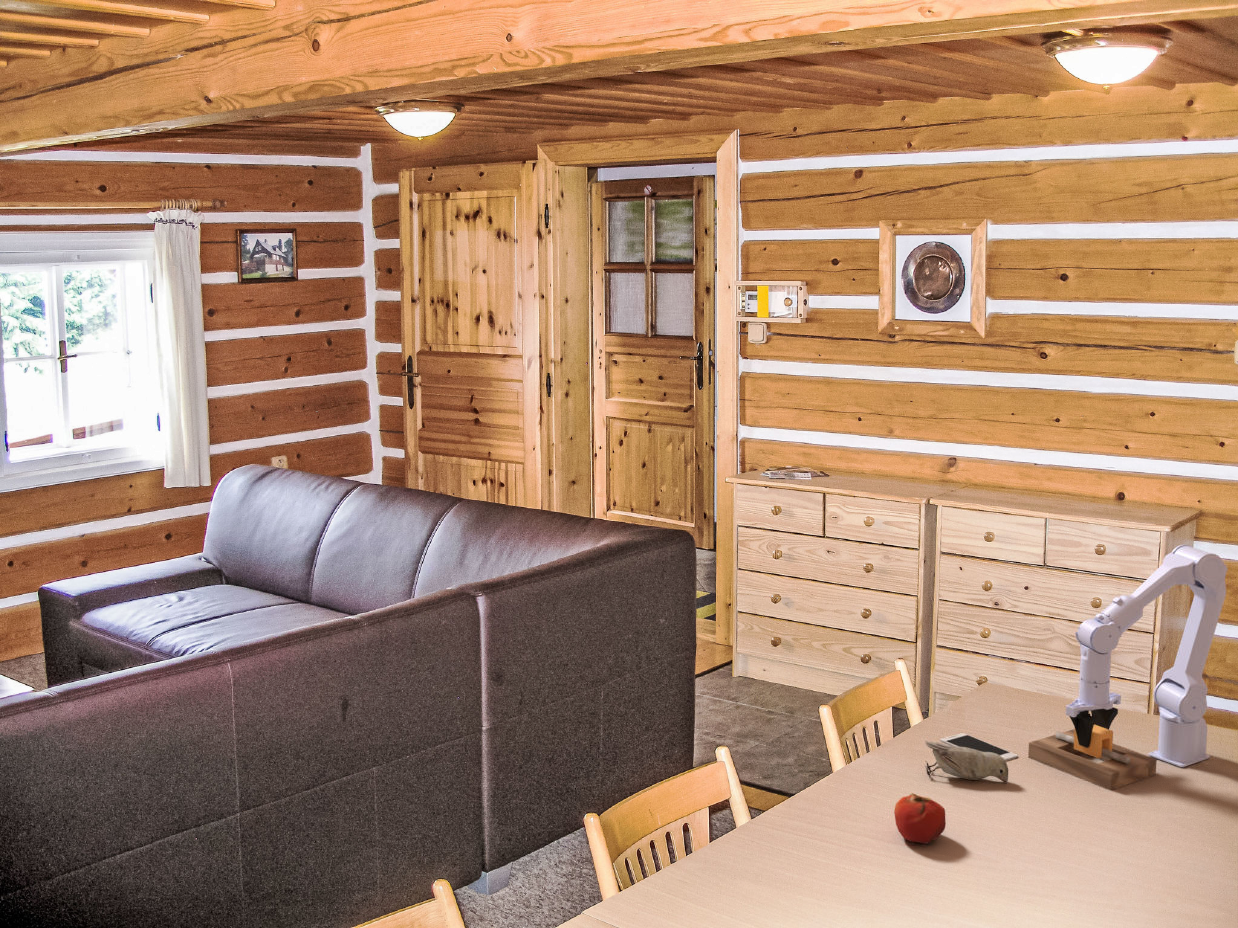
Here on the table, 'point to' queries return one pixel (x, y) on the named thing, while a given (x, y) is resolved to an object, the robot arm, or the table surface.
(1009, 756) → the smartphone
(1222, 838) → the table surface
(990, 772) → the decorative bird
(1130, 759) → the wooden slotted rail base
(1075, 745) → the orange notched block
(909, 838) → the tomato
